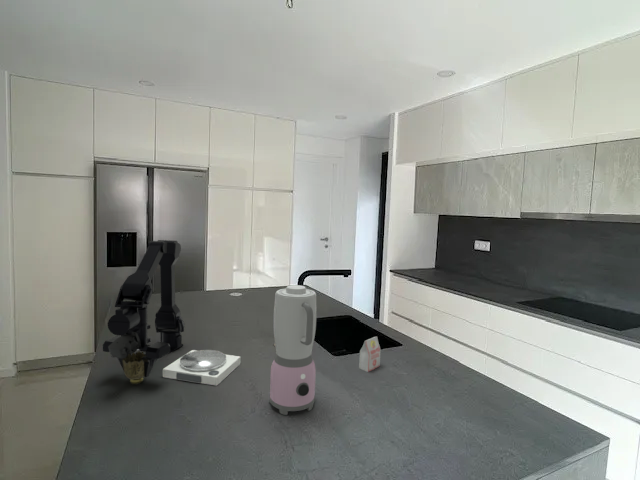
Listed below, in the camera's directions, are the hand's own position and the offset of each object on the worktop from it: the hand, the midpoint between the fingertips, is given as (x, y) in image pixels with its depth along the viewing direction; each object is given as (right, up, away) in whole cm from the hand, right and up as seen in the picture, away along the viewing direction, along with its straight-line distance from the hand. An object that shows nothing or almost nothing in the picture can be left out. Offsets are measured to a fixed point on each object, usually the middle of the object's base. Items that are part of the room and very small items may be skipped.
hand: (136, 375), depth 109 cm
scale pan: (+17, +1, +9) cm, 19 cm away
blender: (+47, -5, -9) cm, 48 cm away
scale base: (+16, -2, +10) cm, 19 cm away
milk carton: (+70, -4, +17) cm, 72 cm away
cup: (0, -2, 0) cm, 2 cm away
